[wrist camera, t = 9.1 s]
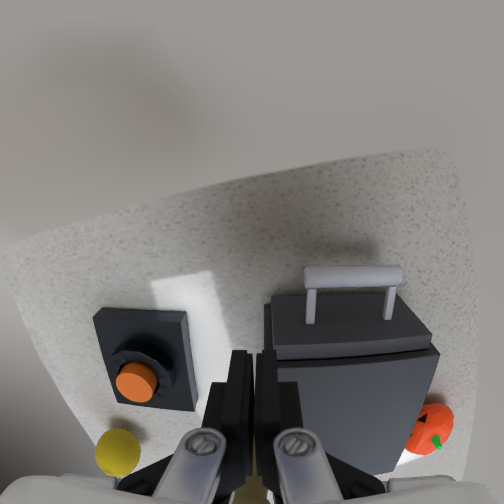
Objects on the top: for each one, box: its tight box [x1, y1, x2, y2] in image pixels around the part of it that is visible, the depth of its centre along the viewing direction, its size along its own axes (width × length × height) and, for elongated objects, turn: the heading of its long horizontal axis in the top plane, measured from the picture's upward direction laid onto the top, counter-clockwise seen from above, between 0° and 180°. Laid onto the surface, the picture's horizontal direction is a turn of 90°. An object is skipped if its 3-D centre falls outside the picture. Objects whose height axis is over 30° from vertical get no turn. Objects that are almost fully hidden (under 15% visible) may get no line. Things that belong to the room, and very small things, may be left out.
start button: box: [116, 362, 157, 402], centre depth 26 cm, size 4×4×2 cm
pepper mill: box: [232, 439, 270, 504], centre depth 29 cm, size 6×6×11 cm
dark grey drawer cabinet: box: [264, 304, 440, 475], centre depth 26 cm, size 15×13×10 cm
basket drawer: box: [271, 265, 432, 362], centre depth 25 cm, size 18×11×8 cm, turn 1°
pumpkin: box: [405, 403, 454, 455], centre depth 29 cm, size 7×8×6 cm
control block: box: [93, 308, 198, 412], centre depth 29 cm, size 11×9×4 cm
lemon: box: [95, 428, 141, 477], centre depth 31 cm, size 6×6×8 cm
